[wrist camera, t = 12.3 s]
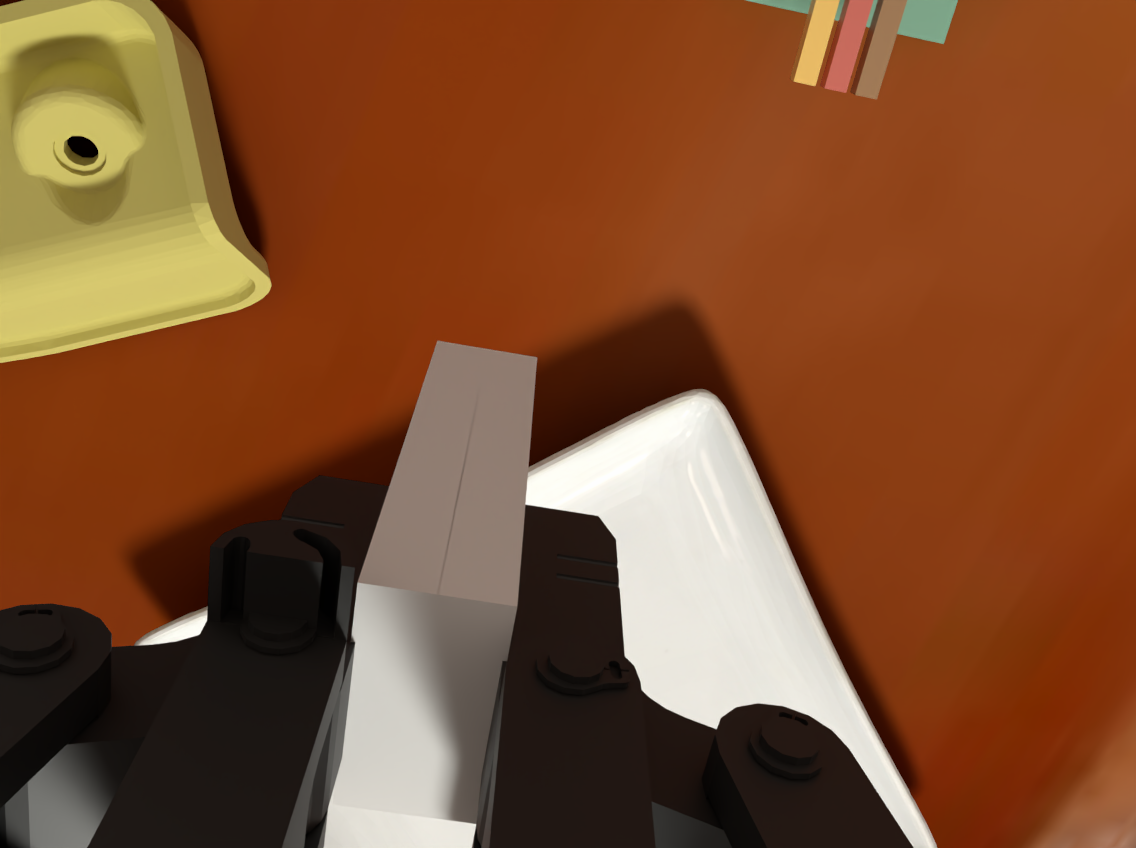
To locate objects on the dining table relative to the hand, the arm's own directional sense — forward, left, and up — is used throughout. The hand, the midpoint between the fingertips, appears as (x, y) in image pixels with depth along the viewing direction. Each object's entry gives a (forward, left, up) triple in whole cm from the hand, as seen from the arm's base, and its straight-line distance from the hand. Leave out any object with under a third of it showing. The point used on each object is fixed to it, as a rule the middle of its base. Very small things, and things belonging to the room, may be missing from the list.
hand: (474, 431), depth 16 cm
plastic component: (-20, -6, -26) cm, 33 cm away
